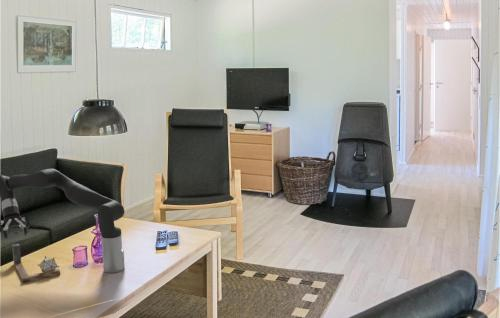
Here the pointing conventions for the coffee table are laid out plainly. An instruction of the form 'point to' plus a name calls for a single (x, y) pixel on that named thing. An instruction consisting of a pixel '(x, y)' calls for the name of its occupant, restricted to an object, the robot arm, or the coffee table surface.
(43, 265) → the grey spiky ball
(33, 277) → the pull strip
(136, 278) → the coffee table surface
